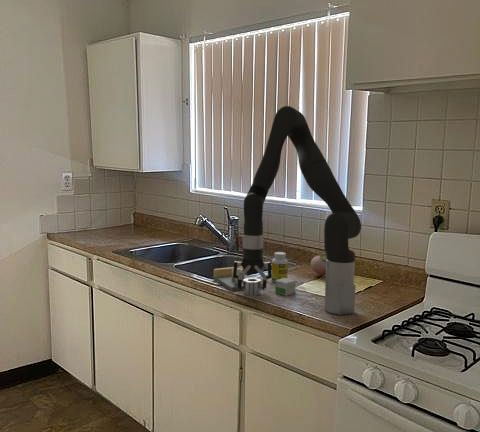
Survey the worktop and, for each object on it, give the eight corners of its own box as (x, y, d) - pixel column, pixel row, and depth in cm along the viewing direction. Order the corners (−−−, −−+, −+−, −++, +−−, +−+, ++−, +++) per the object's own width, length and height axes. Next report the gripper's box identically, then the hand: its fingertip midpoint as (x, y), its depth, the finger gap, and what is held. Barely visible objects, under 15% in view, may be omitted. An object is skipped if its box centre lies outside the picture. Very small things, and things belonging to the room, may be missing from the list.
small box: (274, 292, 185) (274, 280, 184) (284, 289, 189) (284, 277, 188) (286, 296, 181) (286, 283, 180) (295, 292, 185) (296, 280, 184)
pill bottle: (274, 283, 197) (275, 255, 195) (269, 279, 203) (269, 251, 202) (289, 282, 199) (290, 254, 197) (284, 278, 205) (284, 251, 203)
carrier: (262, 287, 191) (262, 268, 190) (231, 291, 185) (231, 271, 184) (242, 276, 207) (242, 259, 206) (213, 279, 202) (213, 261, 201)
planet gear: (263, 294, 182) (263, 281, 181) (247, 296, 179) (248, 283, 179) (255, 289, 188) (255, 277, 187) (240, 291, 185) (240, 278, 184)
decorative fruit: (307, 274, 213) (307, 251, 212) (324, 273, 215) (325, 250, 214) (315, 279, 204) (316, 256, 203) (334, 278, 206) (334, 255, 205)
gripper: (271, 244, 185) (270, 286, 187) (233, 244, 185) (233, 285, 187) (272, 248, 178) (271, 292, 180) (233, 248, 178) (232, 291, 180)
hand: (251, 289), depth 184 cm, fingers open, 8 cm apart
